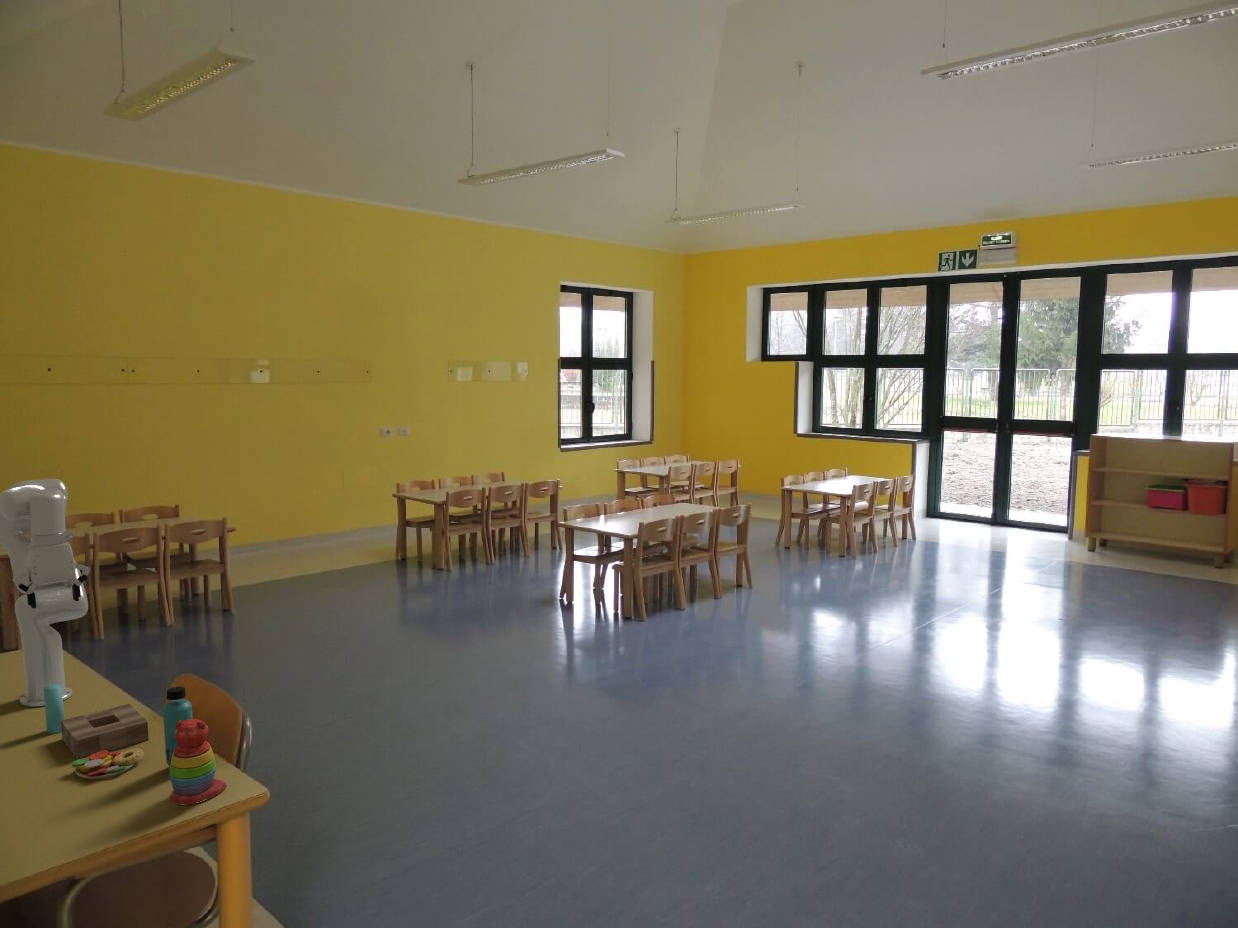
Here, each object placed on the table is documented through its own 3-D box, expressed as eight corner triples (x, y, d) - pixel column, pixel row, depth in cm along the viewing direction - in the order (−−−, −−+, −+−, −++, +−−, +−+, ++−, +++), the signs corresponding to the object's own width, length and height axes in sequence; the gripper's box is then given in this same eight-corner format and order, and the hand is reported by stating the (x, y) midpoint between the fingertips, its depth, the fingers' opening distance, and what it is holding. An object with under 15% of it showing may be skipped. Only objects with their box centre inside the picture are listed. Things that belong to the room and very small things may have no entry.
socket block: (62, 738, 226) (60, 720, 225) (130, 721, 237) (129, 703, 236) (77, 759, 214) (76, 740, 213) (148, 739, 225) (147, 721, 225)
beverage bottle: (202, 764, 212) (197, 685, 209) (178, 776, 206) (173, 695, 203) (183, 759, 214) (179, 681, 212) (159, 770, 208) (154, 690, 206)
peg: (45, 730, 231) (41, 686, 229) (63, 726, 233) (59, 683, 232) (48, 735, 228) (45, 691, 226) (66, 730, 231) (63, 687, 229)
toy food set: (151, 760, 214) (150, 748, 214) (106, 786, 202) (105, 772, 201) (107, 754, 218) (106, 741, 217) (61, 778, 205) (60, 765, 205)
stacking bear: (230, 785, 202) (226, 711, 200) (205, 807, 192) (200, 730, 190) (186, 782, 203) (181, 709, 201) (159, 804, 193) (154, 728, 191)
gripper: (83, 533, 236) (88, 595, 238) (7, 542, 224) (12, 607, 226) (91, 536, 231) (96, 600, 233) (12, 546, 219) (18, 613, 221)
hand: (55, 603), depth 229 cm, fingers open, 9 cm apart
